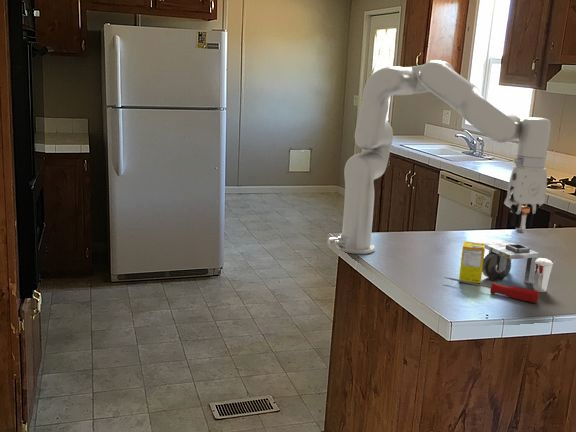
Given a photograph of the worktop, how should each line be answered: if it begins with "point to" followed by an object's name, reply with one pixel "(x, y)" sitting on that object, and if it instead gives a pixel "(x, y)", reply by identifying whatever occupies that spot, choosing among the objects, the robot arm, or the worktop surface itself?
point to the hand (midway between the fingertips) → (520, 226)
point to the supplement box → (472, 262)
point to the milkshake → (542, 274)
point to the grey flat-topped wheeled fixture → (507, 260)
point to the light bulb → (523, 219)
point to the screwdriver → (509, 291)
